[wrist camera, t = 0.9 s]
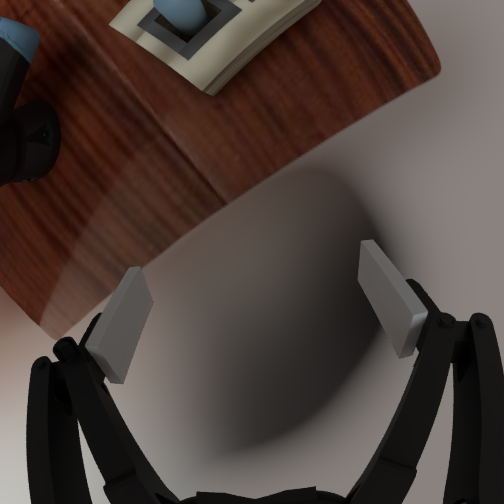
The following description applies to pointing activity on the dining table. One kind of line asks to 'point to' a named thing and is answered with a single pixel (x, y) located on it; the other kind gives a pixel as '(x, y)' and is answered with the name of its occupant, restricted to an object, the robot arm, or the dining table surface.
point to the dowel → (183, 14)
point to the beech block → (211, 36)
